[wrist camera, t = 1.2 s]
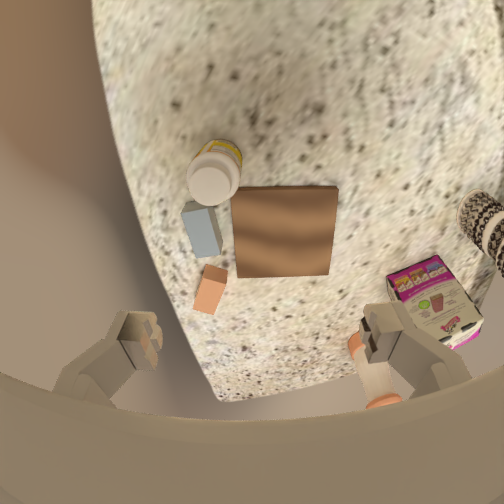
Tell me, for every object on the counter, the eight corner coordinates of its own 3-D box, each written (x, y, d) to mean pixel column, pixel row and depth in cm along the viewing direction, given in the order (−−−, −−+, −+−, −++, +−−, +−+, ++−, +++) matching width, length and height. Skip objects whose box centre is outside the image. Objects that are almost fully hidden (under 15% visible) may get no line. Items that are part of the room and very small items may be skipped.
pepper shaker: (348, 352, 56) (366, 430, 40) (347, 333, 52) (369, 418, 36) (379, 344, 55) (402, 419, 39) (381, 324, 51) (409, 405, 35)
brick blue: (186, 202, 37) (180, 213, 34) (211, 197, 37) (207, 208, 34) (200, 244, 41) (196, 258, 38) (223, 241, 41) (220, 254, 38)
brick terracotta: (206, 263, 43) (203, 277, 40) (227, 269, 44) (226, 284, 41) (195, 294, 47) (192, 309, 44) (215, 300, 47) (213, 315, 44)
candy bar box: (387, 294, 47) (420, 367, 33) (385, 275, 44) (422, 350, 30) (438, 273, 44) (479, 337, 30) (438, 253, 41) (485, 318, 28)
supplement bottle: (206, 184, 36) (190, 219, 27) (193, 144, 33) (171, 167, 24) (247, 174, 35) (245, 207, 26) (236, 133, 32) (230, 151, 23)
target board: (230, 188, 36) (230, 191, 35) (336, 186, 36) (338, 189, 35) (237, 273, 44) (237, 278, 43) (326, 270, 43) (328, 275, 42)
